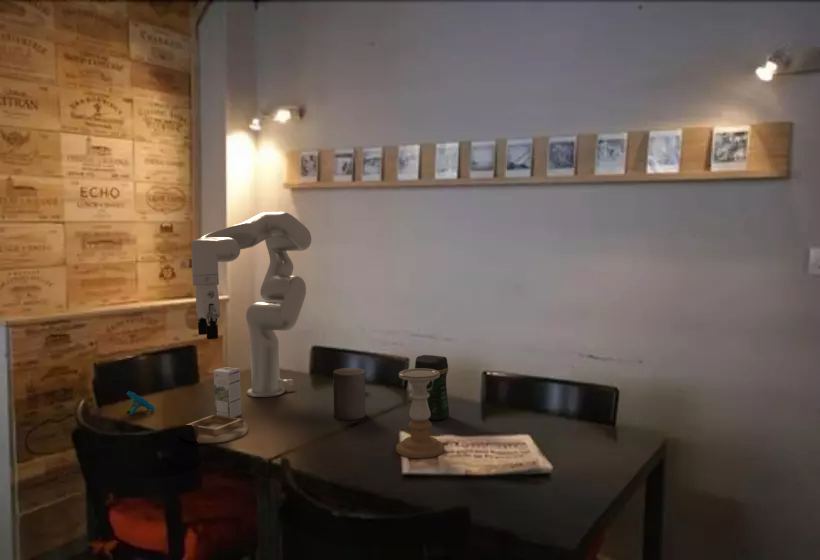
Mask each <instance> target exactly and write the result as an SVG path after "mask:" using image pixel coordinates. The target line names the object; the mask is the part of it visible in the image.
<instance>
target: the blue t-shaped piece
mask: <svg viewBox="0 0 820 560" xmlns="http://www.w3.org/2000/svg"><path fill="white" fill-rule="evenodd" d="M126 395H127V396H128V397H129V398H130V399H131V400H130V406H129V407H128V409H127V410H126V412H127V411H129V415H130V414H131V416H133V415H135V413H136V412H137V410H138V409H139V408H140V407H143V408H145V409H146V410H148V411H151V412H154V411H155V410H156V408H155V406H154V405H153V404H152V403H149V400H147V399H145V398H144V397H143V396H141V395H139V394H138V395H137V393H136V392H133V391H131V390H129V391H127V392H126Z"/></svg>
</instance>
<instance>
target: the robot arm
mask: <svg viewBox="0 0 820 560" xmlns="http://www.w3.org/2000/svg"><path fill="white" fill-rule="evenodd" d="M263 241H264V242H265V245H266V249H267V251H268V255H269V265H268V268H267V271H266V273H265V276H264V278H263V282H262V284H261V286H260V287H261V288H260V292H259V293H260V297H261V299H263V300H264V301H256V302H253V303H251V304H250V305H249V306H248V307H247V309H246V314H245V318H246V323H247V328H248V332H249V344H250V345H249V347H250V376H251V378H250V379H251V388H248V389H247V391H246V394H247V395H248V396H249V397H253V398H270V397H277V396H280V395H282V394H284V393H285V388H284V387H286V386H293V385H294V380H293V379H291V378H289V379H287V378H286V379H285V378H284V379H282V378H280V347H279V338H278V336H277V334H276V333H275V331H282V332H285V331H290V330H292V329H293V328H294V327H295V326H296V324H297V321H298V319H299V315H300V313H301V310H302V307H303V304H304V303H305V300H306V299H305V298H306V294H307V286H306V282H305V281H304V279H303V278H302V277H301V276H298V275H292V274H293V271H294V264H293V260H292V259H291V257H290V255H289V254H288V252H290V251H291V252H296V251H297V252H299V251H301V252H302V251H305V250H307V249H309V247H310V246H311V244H312V235H311V232H310V230H309V229H308V227H306V225H304V224H303V223H302V222H301V221H300V220H299V219H297V218H296V217H295V216H293V215H292V214H290V213H289V212H285V211H276V212H275V211H269V212H268V211H267V212H266V211H265V212H260V213H259V214H256V215H254V216H253V217H250V218H249V219H247V220H245V221H243V222H241V223H238V224H233V225H231V226H227V227H225V228H221V229H217V230H214V231H211V232H209V233H207V234H205V235H203V236H201V237H200V238H198V239H193V240H192V242H191V244H190V250H191V251H190V252H191V269H192V270H191V271H192V273H191V275H192V277H191V278H192V286H193V287H195V308H196V309H195V310H196V315H197V316H198V317H197V325H198V326H197V329H198V332H197V333H198V335H199V336H204V335H206V339H207V340H216V339H218V338H219V328H218V327H219V325H218V324H219V323H218V319H219V318H220V317H221V307H220V306H221V305H220V296H219V295H220V294H219V289H218V286H219V284H220V282H219V281H220V280H219V279H220V278H219V276H220V275H219V263H229V262H233V261H235V260H237V259H238V258H239V256H240V254H241V250H246V249H250V248H253V247H255V246H256V245H258V244H260V243H261V242H263Z"/></svg>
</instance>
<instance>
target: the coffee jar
mask: <svg viewBox="0 0 820 560" xmlns="http://www.w3.org/2000/svg"><path fill="white" fill-rule="evenodd" d="M416 368H425V369H433V370H437V371H439V372H440V376H439V378H437V379H434V380H430V382H429V384H428V385H427V387H426V390H427V392H428V393H429V394H430V396H429V397H428V398H427V401H428V406H429V409H430V412H431V416H430V417H429V419H428V420H429V421H439V420H445V419H447V418H448V417H449V415H450V408H449V407H450V406H449V401H448V400H449V398H448V389H447V374H448V371H449V364H448V359H447V357H446V356H439V355H432V354H431V355H430V354H423V355H419V356H417V357H416V358H415V362H414V369H416Z"/></svg>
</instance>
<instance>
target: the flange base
mask: <svg viewBox="0 0 820 560" xmlns="http://www.w3.org/2000/svg"><path fill="white" fill-rule="evenodd" d="M185 425H192V426H193V427H194V429H195V431H196V436H197V442H198V443H197V444H217V443H224V442H228V441H229V442H230V441H232V440H237V439H239V438H241V437H243V436H245V435H246V434H247V433H248V432H249V425H248V424H247V422H244V418H238V417H234V418H233V417H226V416H219V415H216V414H211V415H209V416H206V417H203V418H201V419H197V420H195V421H192V422H190V423H187V424H185Z"/></svg>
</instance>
